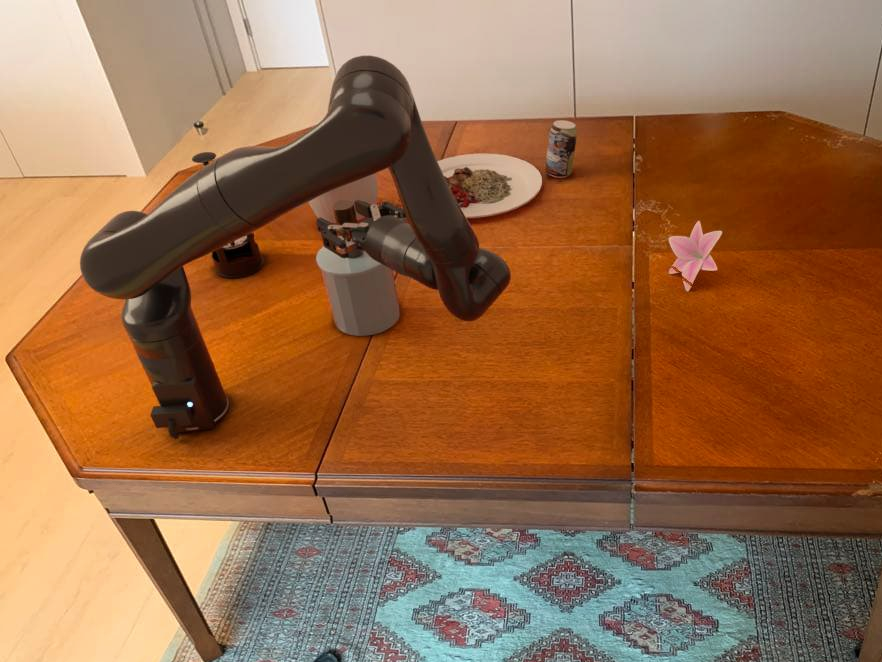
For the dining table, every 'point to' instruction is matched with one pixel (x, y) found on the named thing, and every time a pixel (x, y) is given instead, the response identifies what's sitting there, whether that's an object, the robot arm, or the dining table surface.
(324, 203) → the citrus juicer
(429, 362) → the dining table surface
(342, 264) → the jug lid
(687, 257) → the lily
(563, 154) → the beverage can
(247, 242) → the french press
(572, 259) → the dining table surface
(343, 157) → the robot arm
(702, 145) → the dining table surface
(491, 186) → the plated food
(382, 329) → the grey cup
